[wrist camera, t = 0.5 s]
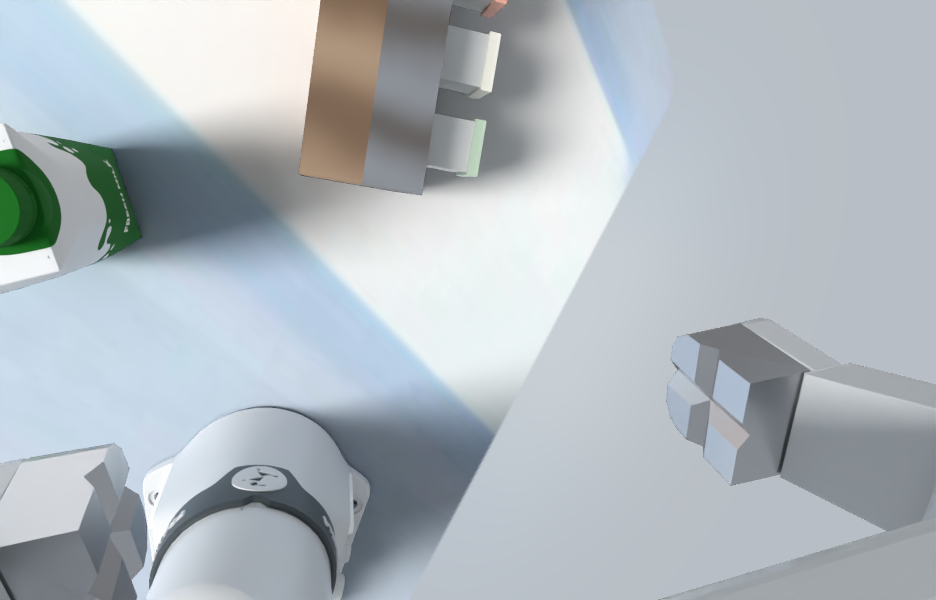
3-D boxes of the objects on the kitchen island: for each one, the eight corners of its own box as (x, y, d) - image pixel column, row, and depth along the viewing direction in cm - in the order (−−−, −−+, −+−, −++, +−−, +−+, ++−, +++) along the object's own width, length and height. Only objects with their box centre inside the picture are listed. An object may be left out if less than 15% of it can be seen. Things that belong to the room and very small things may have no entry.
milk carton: (158, 245, 49) (61, 286, 30) (35, 274, 48) (-150, 336, 29) (120, 133, 47) (-10, 101, 28) (-10, 159, 46) (-241, 144, 27)
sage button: (464, 177, 49) (477, 176, 45) (404, 165, 48) (412, 164, 44) (473, 125, 49) (486, 120, 45) (412, 112, 47) (421, 106, 44)
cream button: (477, 99, 48) (491, 92, 44) (416, 85, 47) (425, 77, 43) (486, 45, 48) (501, 33, 44) (425, 30, 46) (435, 17, 43)
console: (398, 192, 53) (422, 195, 42) (301, 175, 51) (298, 173, 40) (436, -57, 50) (472, -128, 39) (335, -86, 48) (342, -169, 37)
